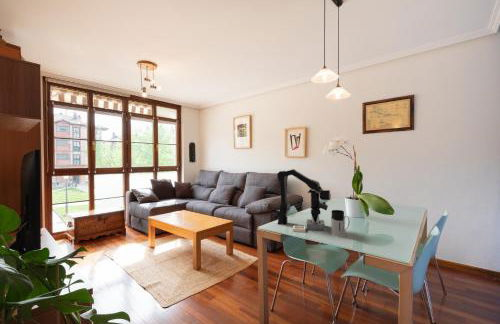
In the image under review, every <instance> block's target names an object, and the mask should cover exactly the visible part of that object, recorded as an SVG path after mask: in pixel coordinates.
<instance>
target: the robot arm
mask: <svg viewBox="0 0 500 324" xmlns="http://www.w3.org/2000/svg"><path fill="white" fill-rule="evenodd" d="M289 176H293V177H294V178H295V179H298V180H299V181H301V182H302V183H304V184H306V186H307V187H308V188H309V191H307V193H308V194H310V214H311V218H312V217H313V219H314V222H316V221H317V217H318V215H319V216H320V215H321V209H322V210H324V211H327V209H328V207H329V205H328V204H326V203H327V202H325V201H331V198H332V197H331V190H329V189H328V190H326V189H325V190H324V189H323V188H322V186H321V185H320V182H319V181H317V180H314V179H311V178H309V177H308V176H305V175H304V174H302V173H301V172H299V171H298V170H296V169H295V168H292V169H289V170H281V171H280V170H279V172H278V173H277V175H276V177H277V180H278V182H279V188H280V204H279V210H278V212H276V216H277V225H287V223H288V216H287V215H288V213H289V212H290V210H291V203H289V202H288V191H287V181H288V177H289ZM320 199H321V200H322V201H323V202H321V201H320Z"/></svg>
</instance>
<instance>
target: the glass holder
mask: <svg viewBox="0 0 500 324" xmlns="http://www.w3.org/2000/svg"><path fill="white" fill-rule="evenodd" d="M346 217H347V220H348V223H347V227H345V220H346ZM330 220H331V232H330V235H331V236H332V237H336V236H337V237H338V238H343V237H346V231H347V230H348V229H349V226H350V222H351V221H350V217H349V216H348V215H345V211H344V210H343V209H342V210H341V209H333V210H331V219H330ZM337 237H336V238H337Z"/></svg>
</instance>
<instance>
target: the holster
mask: <svg viewBox="0 0 500 324" xmlns="http://www.w3.org/2000/svg"><path fill="white" fill-rule="evenodd" d="M292 232H295V233H296V232H298V233H305V232H306V226H305V225H293V227H292Z"/></svg>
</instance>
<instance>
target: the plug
mask: <svg viewBox="0 0 500 324" xmlns="http://www.w3.org/2000/svg"><path fill="white" fill-rule="evenodd" d="M311 220H312V223H319V220H320V214H319V215H318V217H317V221H316V222H314V219H313V217H312V216H311Z"/></svg>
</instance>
